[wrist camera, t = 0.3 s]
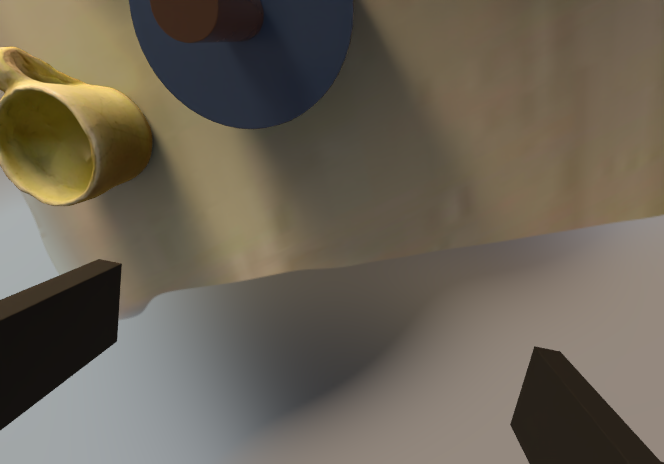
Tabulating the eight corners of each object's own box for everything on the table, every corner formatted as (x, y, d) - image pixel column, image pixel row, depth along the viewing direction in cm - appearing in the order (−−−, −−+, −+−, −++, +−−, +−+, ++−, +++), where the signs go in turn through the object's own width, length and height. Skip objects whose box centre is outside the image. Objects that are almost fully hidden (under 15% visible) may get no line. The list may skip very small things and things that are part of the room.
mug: (186, 179, 37) (80, 204, 29) (116, 193, 42) (7, 218, 33) (145, 36, 34) (14, 17, 26) (75, 69, 39) (-54, 62, 31)
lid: (222, -194, 21) (128, -336, 13) (401, 8, 24) (414, -7, 16) (100, 20, 26) (-23, 13, 18) (261, 165, 30) (217, 213, 21)
